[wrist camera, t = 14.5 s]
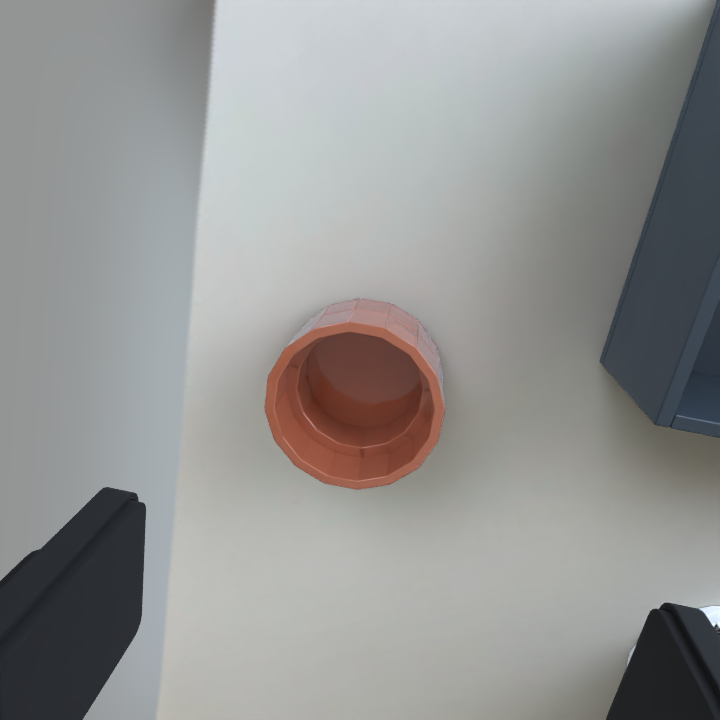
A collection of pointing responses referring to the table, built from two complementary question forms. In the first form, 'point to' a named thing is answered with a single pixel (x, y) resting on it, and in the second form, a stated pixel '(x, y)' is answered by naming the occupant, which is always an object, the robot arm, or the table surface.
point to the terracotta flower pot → (357, 395)
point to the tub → (678, 272)
